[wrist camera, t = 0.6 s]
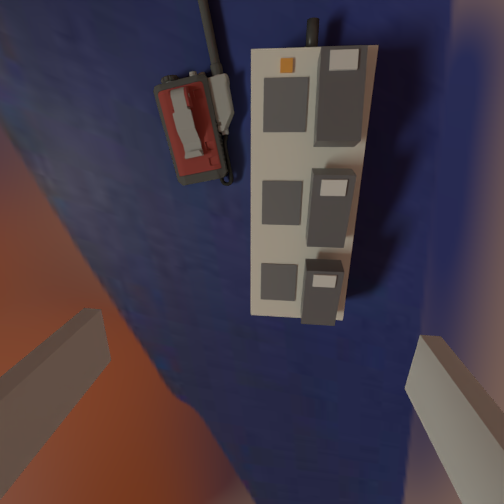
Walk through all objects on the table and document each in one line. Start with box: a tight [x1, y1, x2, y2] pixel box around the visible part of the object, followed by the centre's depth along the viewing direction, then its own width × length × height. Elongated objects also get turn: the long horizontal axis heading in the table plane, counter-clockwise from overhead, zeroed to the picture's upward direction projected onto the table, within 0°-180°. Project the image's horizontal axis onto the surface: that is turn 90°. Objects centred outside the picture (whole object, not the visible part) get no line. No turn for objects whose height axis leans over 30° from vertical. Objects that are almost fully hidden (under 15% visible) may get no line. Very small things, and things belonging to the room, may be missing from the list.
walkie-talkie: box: [153, 0, 234, 186], centre depth 33 cm, size 9×4×20 cm
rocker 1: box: [313, 45, 368, 147], centre depth 26 cm, size 8×4×3 cm, turn 0°
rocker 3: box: [300, 259, 345, 326], centre depth 33 cm, size 8×4×3 cm, turn 179°
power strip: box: [251, 18, 378, 320], centre depth 34 cm, size 33×12×5 cm, turn 0°
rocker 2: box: [306, 168, 357, 248], centre depth 30 cm, size 8×4×3 cm, turn 179°
